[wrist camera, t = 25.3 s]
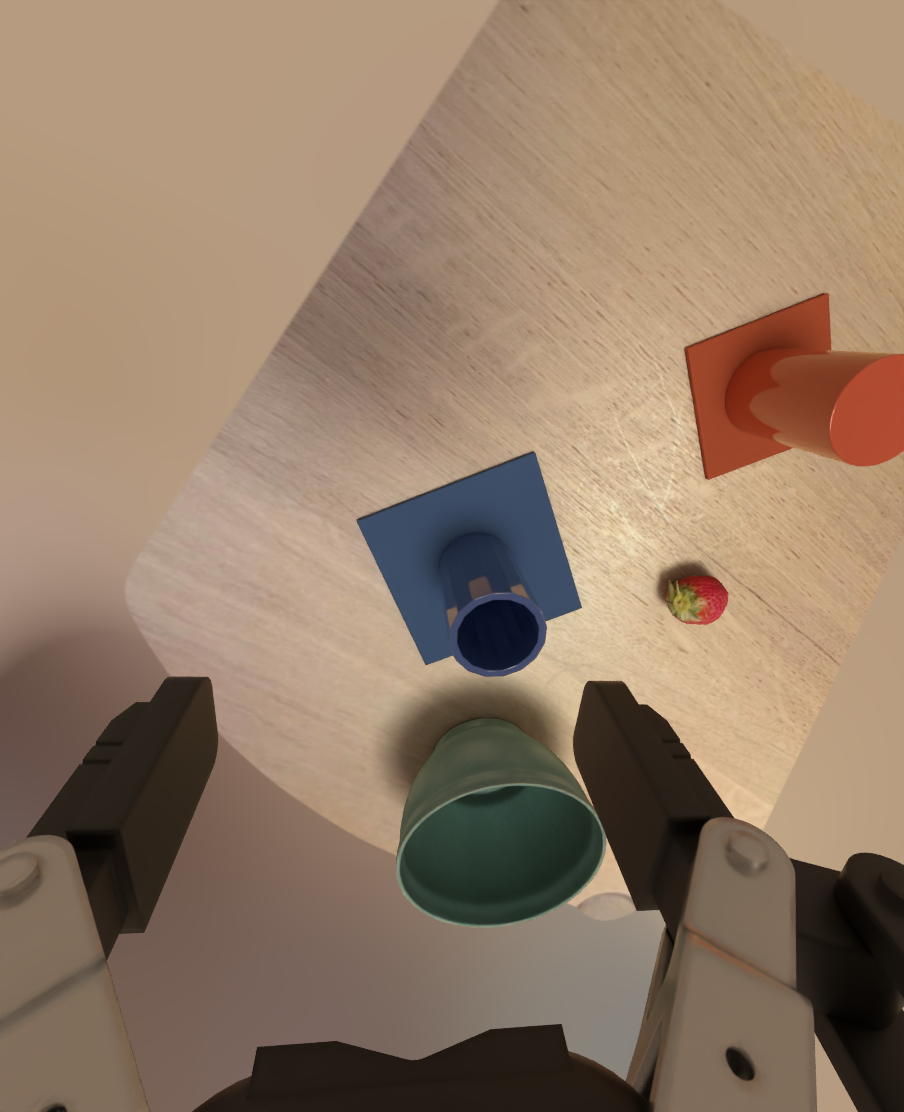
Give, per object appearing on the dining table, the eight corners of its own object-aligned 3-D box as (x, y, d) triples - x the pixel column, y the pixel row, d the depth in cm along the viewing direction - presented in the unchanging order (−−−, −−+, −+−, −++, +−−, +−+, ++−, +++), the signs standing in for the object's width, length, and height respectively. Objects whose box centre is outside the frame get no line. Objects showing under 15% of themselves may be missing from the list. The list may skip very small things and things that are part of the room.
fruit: (709, 613, 45) (743, 645, 41) (646, 605, 44) (674, 636, 40) (728, 570, 44) (766, 598, 39) (663, 560, 43) (695, 588, 38)
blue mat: (357, 519, 39) (356, 521, 38) (533, 451, 38) (535, 452, 38) (425, 662, 44) (425, 665, 44) (580, 605, 44) (582, 608, 43)
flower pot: (581, 786, 52) (624, 893, 42) (429, 835, 53) (437, 952, 43) (541, 662, 46) (582, 755, 36) (369, 720, 46) (362, 827, 36)
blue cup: (426, 548, 40) (434, 614, 31) (499, 520, 40) (530, 578, 30) (452, 611, 42) (468, 689, 33) (522, 585, 42) (557, 657, 33)
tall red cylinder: (719, 366, 36) (826, 379, 27) (802, 334, 36) (939, 336, 27) (730, 446, 39) (832, 482, 30) (807, 416, 39) (935, 443, 29)
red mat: (684, 348, 36) (687, 348, 36) (824, 293, 36) (828, 293, 35) (705, 478, 40) (708, 480, 40) (831, 431, 40) (835, 432, 39)
